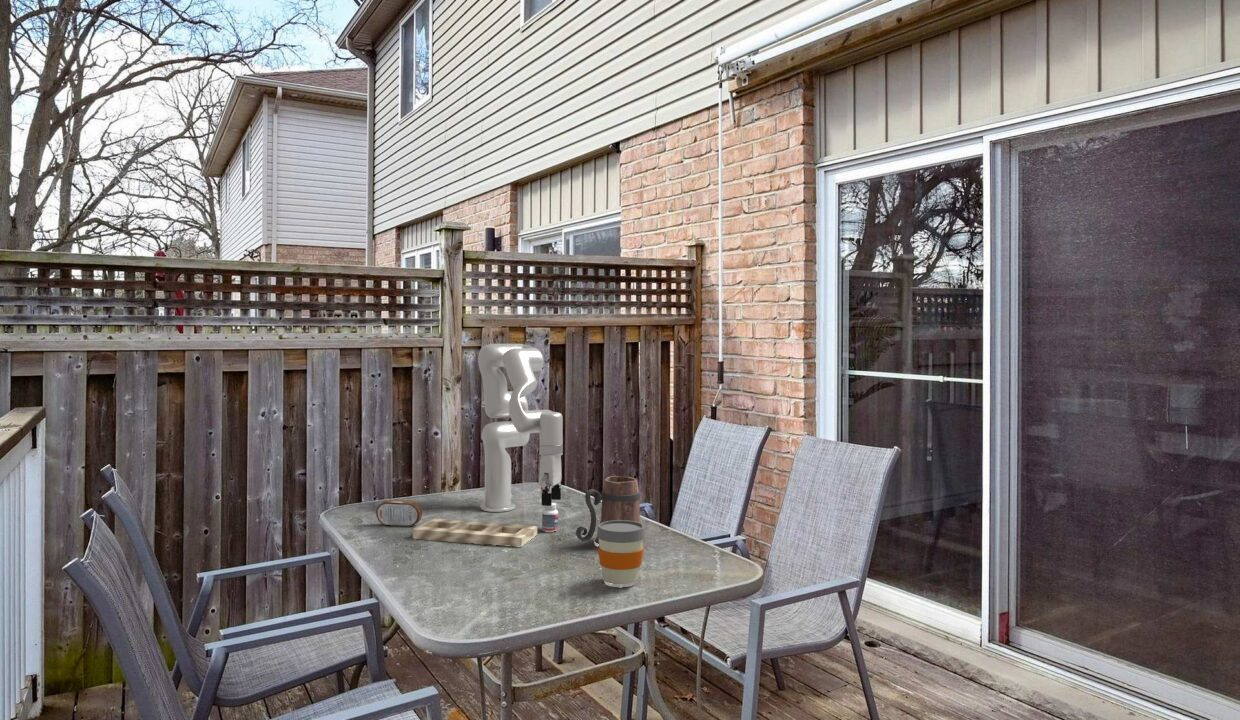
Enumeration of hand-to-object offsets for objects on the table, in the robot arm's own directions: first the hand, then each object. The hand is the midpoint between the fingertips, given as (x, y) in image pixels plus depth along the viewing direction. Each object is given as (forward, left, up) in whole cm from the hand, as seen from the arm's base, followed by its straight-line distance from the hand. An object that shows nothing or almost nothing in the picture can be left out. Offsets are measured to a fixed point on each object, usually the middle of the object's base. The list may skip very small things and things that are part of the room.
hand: (551, 502), depth 256 cm
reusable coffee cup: (+44, +33, -10) cm, 56 cm away
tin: (+8, -51, -10) cm, 52 cm away
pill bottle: (0, -1, -10) cm, 10 cm away
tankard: (+10, +22, -10) cm, 26 cm away
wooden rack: (+14, -21, -9) cm, 26 cm away
